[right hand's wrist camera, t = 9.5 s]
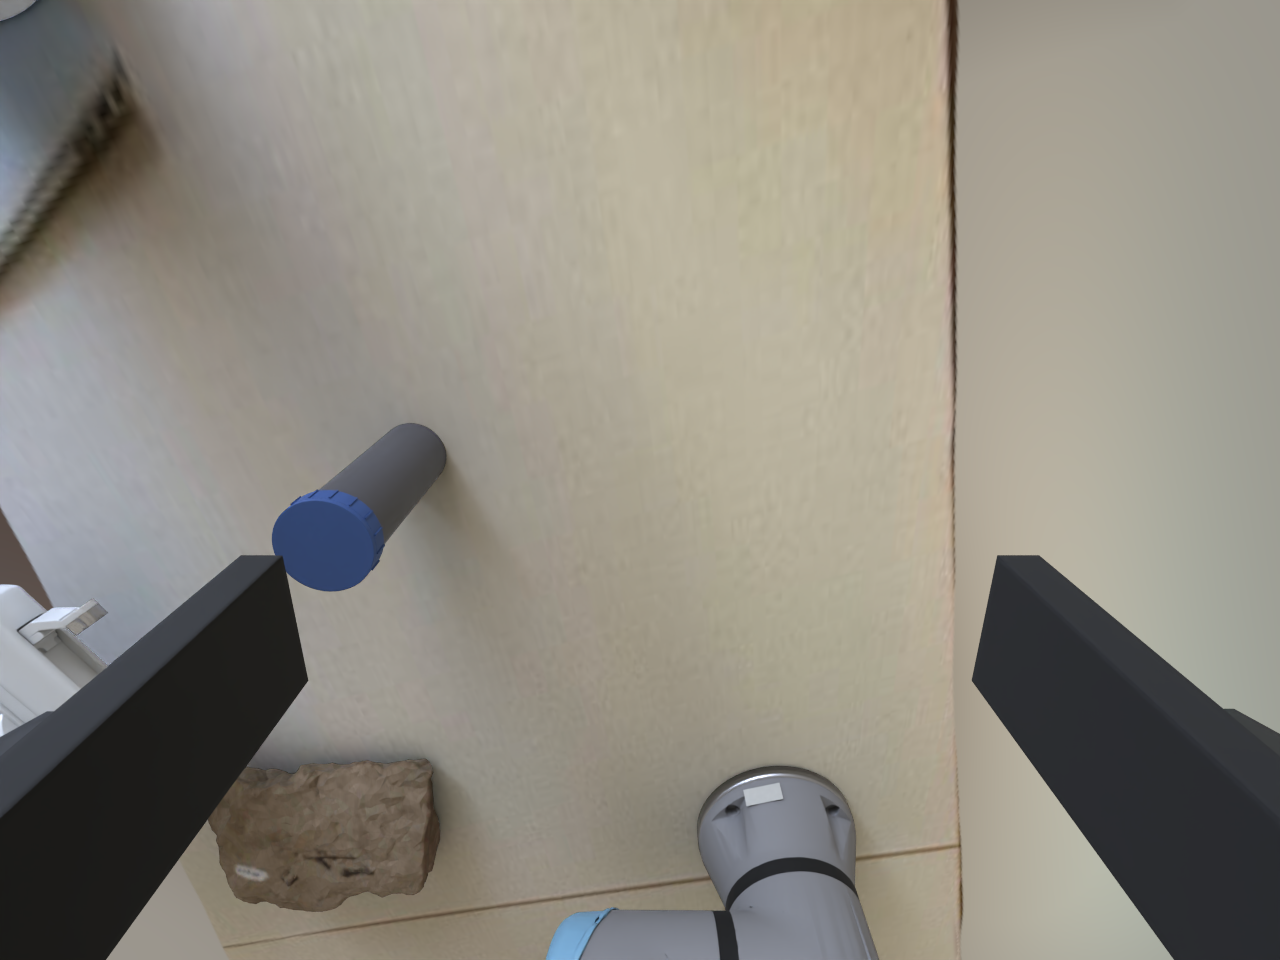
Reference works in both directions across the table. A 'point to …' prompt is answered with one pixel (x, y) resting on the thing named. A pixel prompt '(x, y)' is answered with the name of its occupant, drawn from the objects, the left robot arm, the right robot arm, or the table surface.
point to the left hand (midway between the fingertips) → (144, 656)
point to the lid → (328, 540)
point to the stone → (327, 833)
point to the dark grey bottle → (393, 473)
